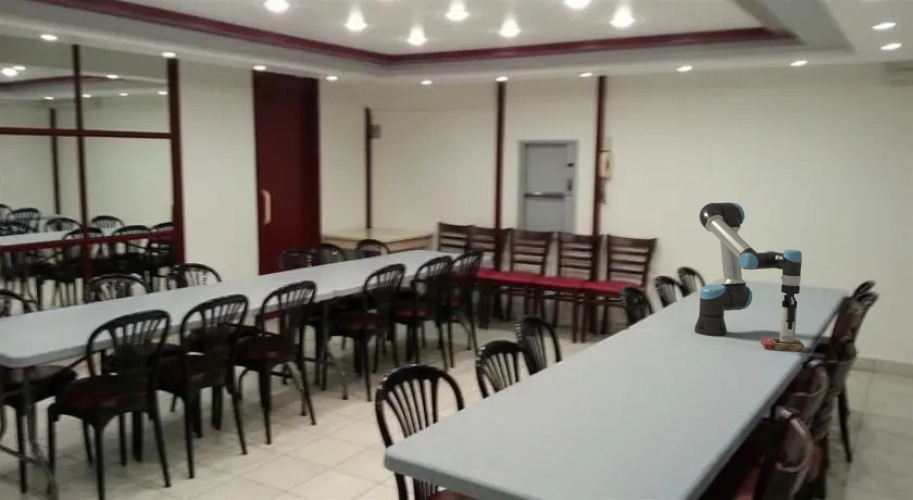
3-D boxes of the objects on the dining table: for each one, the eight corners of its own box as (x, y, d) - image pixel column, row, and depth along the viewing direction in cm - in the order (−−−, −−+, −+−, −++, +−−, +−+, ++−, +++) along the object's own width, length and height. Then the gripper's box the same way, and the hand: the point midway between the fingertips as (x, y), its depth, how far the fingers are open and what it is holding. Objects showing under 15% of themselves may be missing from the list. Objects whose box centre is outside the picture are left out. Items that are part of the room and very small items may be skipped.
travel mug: (782, 344, 321) (785, 300, 319) (777, 340, 328) (780, 298, 326) (796, 344, 321) (799, 301, 318) (791, 341, 327) (794, 298, 325)
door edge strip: (764, 349, 322) (765, 343, 322) (760, 342, 334) (761, 337, 333) (772, 349, 321) (772, 344, 321) (767, 343, 333) (767, 338, 333)
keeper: (773, 350, 320) (774, 343, 320) (768, 343, 333) (769, 337, 332) (805, 352, 317) (805, 346, 317) (798, 345, 330) (799, 339, 329)
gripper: (777, 280, 331) (774, 329, 334) (785, 287, 313) (782, 338, 316) (795, 281, 330) (792, 330, 332) (804, 288, 311) (800, 339, 314)
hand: (787, 334), depth 324 cm, fingers closed on travel mug, 6 cm apart
